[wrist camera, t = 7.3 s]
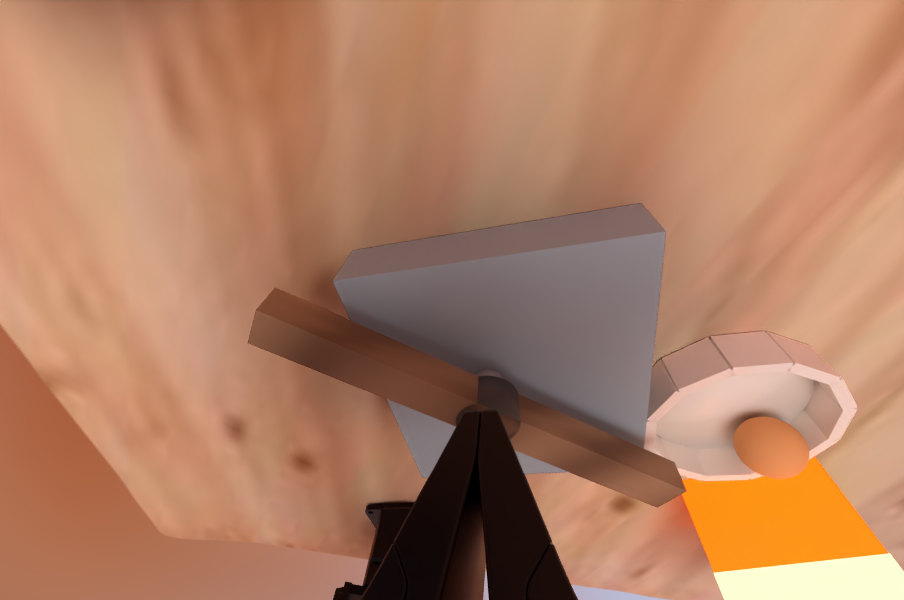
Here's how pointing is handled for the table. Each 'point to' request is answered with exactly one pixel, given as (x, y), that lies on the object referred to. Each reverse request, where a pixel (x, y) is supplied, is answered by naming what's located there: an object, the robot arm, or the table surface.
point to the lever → (457, 396)
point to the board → (524, 315)
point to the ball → (771, 447)
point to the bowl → (740, 400)
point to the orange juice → (790, 540)
